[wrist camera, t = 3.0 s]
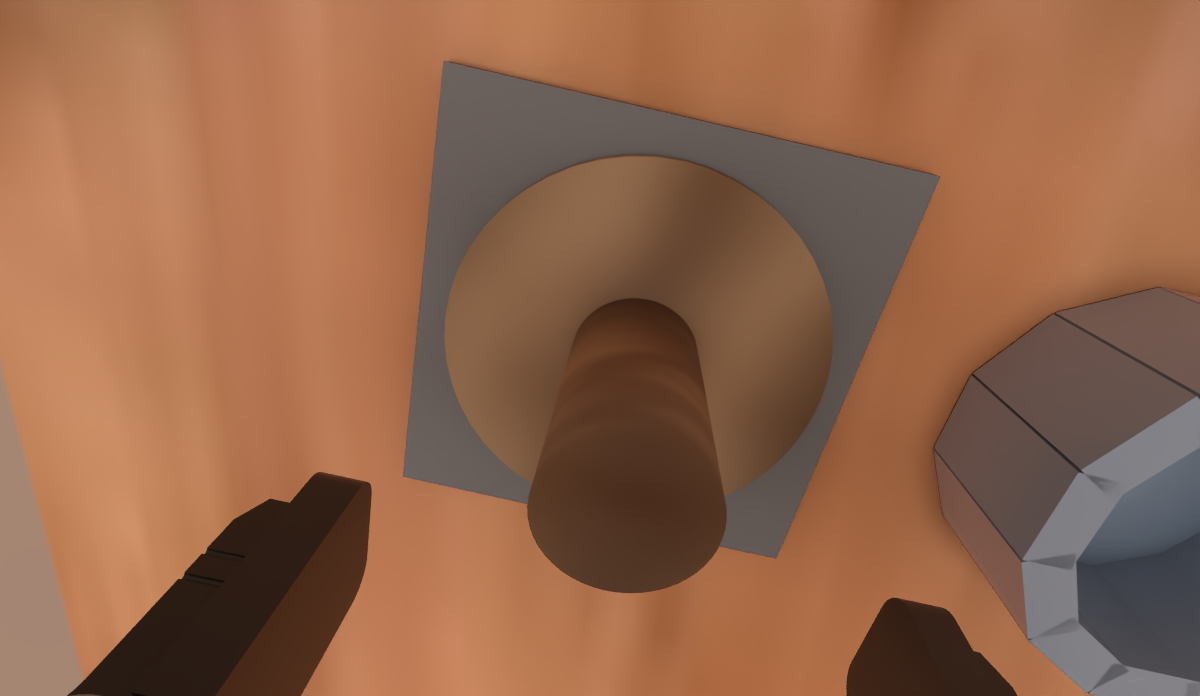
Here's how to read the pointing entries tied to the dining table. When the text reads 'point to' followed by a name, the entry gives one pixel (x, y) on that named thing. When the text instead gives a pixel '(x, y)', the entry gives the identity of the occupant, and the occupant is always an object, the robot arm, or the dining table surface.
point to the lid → (637, 358)
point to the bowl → (1090, 489)
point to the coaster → (610, 128)
